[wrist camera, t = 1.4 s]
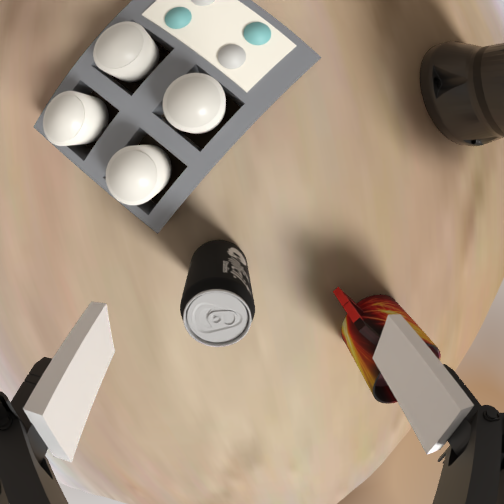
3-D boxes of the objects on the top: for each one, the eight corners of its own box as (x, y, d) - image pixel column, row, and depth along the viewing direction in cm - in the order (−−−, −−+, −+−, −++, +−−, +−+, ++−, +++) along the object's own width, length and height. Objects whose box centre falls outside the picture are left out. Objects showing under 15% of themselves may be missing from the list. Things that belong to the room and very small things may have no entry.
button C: (135, 29, 23) (120, 11, 18) (170, 53, 24) (159, 37, 19) (102, 66, 24) (81, 55, 19) (135, 91, 25) (118, 82, 20)
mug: (332, 281, 38) (369, 335, 27) (409, 300, 41) (453, 346, 29) (305, 340, 41) (328, 402, 30) (380, 351, 44) (413, 402, 32)
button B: (144, 134, 27) (128, 133, 22) (182, 165, 29) (173, 171, 24) (114, 174, 28) (93, 181, 23) (150, 205, 30) (137, 217, 25)
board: (186, -24, 23) (181, -44, 18) (309, 67, 29) (322, 56, 24) (53, 126, 28) (31, 127, 23) (165, 222, 34) (156, 235, 29)
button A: (197, 73, 25) (191, 60, 20) (236, 105, 27) (239, 98, 22) (162, 112, 27) (149, 107, 22) (200, 144, 28) (195, 144, 23)
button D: (86, 87, 24) (62, 80, 20) (118, 113, 26) (98, 109, 21) (59, 127, 26) (33, 127, 21) (89, 153, 27) (65, 157, 22)
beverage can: (191, 237, 34) (175, 284, 23) (248, 238, 35) (259, 286, 24) (192, 288, 37) (180, 349, 26) (245, 289, 37) (254, 350, 26)
